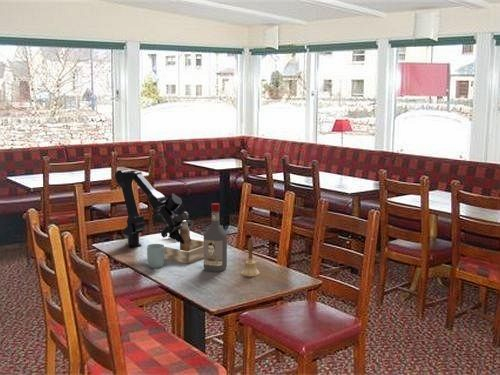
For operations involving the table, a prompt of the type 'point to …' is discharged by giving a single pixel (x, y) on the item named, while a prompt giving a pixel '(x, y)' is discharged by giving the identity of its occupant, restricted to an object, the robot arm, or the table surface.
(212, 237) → the liquor
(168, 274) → the table surface
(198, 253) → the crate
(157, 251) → the cup
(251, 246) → the hand bell
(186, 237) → the pepper mill
